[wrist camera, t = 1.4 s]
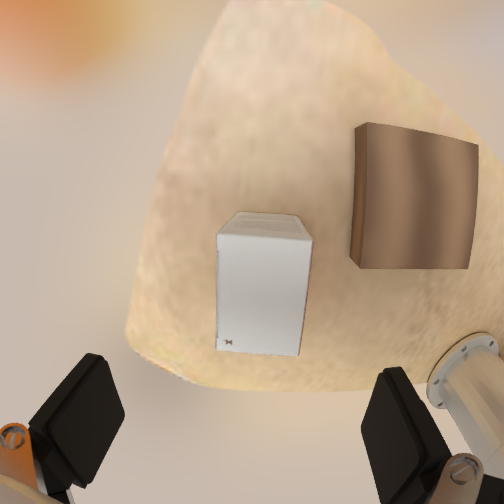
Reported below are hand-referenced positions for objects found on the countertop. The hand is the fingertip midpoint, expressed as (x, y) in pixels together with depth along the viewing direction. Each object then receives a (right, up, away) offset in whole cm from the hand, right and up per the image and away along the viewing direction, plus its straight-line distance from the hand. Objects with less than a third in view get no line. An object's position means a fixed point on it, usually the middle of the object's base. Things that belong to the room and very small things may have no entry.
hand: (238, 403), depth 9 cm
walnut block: (+16, +10, +16) cm, 25 cm away
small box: (+2, +5, +19) cm, 19 cm away
